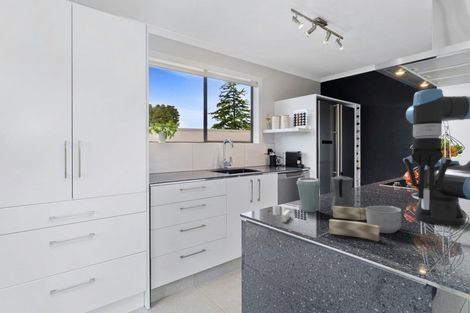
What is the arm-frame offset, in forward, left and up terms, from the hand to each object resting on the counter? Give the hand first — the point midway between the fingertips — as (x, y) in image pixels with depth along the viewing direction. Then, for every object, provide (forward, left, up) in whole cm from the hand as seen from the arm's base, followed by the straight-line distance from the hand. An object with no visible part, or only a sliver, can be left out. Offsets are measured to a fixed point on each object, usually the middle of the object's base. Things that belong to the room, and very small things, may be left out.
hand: (425, 208), depth 83 cm
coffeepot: (+26, -21, -9) cm, 35 cm away
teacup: (+11, 0, -9) cm, 14 cm away
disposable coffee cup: (+40, -17, -9) cm, 45 cm away
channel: (+22, 0, -9) cm, 23 cm away
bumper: (+47, 0, -9) cm, 47 cm away
